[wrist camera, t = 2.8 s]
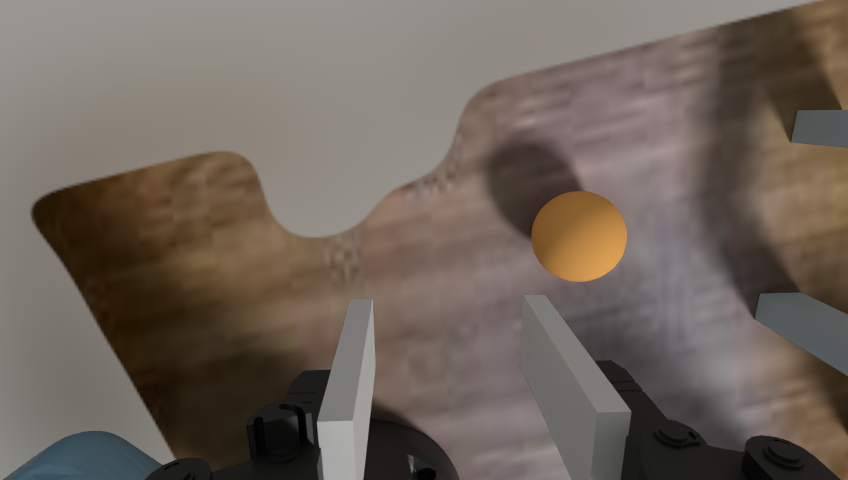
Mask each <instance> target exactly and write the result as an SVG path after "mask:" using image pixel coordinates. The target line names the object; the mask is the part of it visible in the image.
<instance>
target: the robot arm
mask: <svg viewBox="0 0 848 480" xmlns="http://www.w3.org/2000/svg"><path fill="white" fill-rule="evenodd" d="M520 365H521V367H522V370H523V372H524V374H525V376H526V379H527V381H528V383H529V385H530V388H531V390H532V392H533V394H534V397H535V399H536V401H537V403H538V405H539V408H540V410H541V412H542V414H543V417H544V419H545V421H546V423H547V426H548V428H549V430H550V432H551V435H552V437H553V439H554V441H555V443H556V446H557V448H558V450H559V452H560V455H561V457H562V459H563V461H564V464H565V466H566V468H567V470H568V472H569V475H570V477H571V479H572V480H840V479H839V478H838V477H837V476H836V475H835V474H834V473H833V472H831V471H830V470H829V469H828V468H827V467H826V466H825V465H824V464H822V463H821V462H820V461H819V460H818V459H817V458H816V457H815V456H813V455H812V454H810V453H809V452H808V451H806V450H805V449H803V448H802V447H800V446H798V445H796V444H793V443H791V442H790V441H787V440H784V439H780V438H777V437H771V436H762V435H760V436H755V437H751V438H750V439H749V440H748V441H746V445H745V450H744V453H743V452H738V451H732V450H727V449H722V448H716V447H712V446H708V445H707V444H706V442H705V441H704V439H703V438H702V437H701V436H700V434H699V433H697V432H696V431H694V430H693V429H692V428H690V427H688V426H686V425H684V424H682V423H679V422H677V421H672V420H668V419H666V417H665V416H664V415H663V414H662V413H661V411H660V410H659V409H658V408H657V407H656V405H655V404H654V403H653V402H652V401H651V399H650V398H649V397H648V396H647V395H646V393H645V392H643V391H642V389H641V387H640V386H639V385H638V384H637V383H635V380H634V379H633V378H632V377H631V376H630V374H629V373H628V372H627V371H626V370H625V369H624V368H622V367H620V366H619V365H617V364H616V363H614V362H613V361H611V360H608V361H594V360H593V359H592V358H591V356H590V355H589V354H588V352H587V351H586V349H585V348H584V347H583V345H582V344H581V343H580V341H579V340H578V339H577V337H576V336H575V335H574V333H573V332H572V331H571V329H570V328H569V327H568V325H567V324H566V323H565V321H564V320H563V319H562V317H561V316H560V314H559V313H558V312H557V310H556V309H555V308H554V306H553V305H552V304H551V302H550V301H549V300H548V298H547V297H546V296H545V295H524V297H523V315H522V333H521V352H520ZM374 377H375V345H374V322H373V299H351V300H350V304H349V307H348V311H347V315H346V318H345V322H344V326H343V329H342V333H341V336H340V340H339V344H338V347H337V351H336V355H335V358H334V362H333V365H332V369H331V370H309V371H303V372H302V373H301V374H300V375H299V376H298V377H297V378H296V379H295V380H293V382H292V384H291V387H290V389H289V392H288V395H287V397H286V399H285V401H278V402H275V403H272V404H268V405H266V406H264V407H262V408H261V409H259V410H257V411H256V412H255V413H254V414H253V415H252V416H251V417H250V418H249V421H248V423H247V433H248V440H249V448H250V455H251V459H250V460H248V461H246V462H244V463H242V464H239V465H236V466H233V467H230V468H226V469H222V470H218V471H215V472H212V471H211V468H210V466H209V464H208V463H207V462H206V461H204V460H202V459H200V458H184V459H178V460H174V461H172V462H170V463H167V464H165V465H162V464H160V463H159V462H157V461H156V460H154V459H153V458H151V457H150V456H148V455H147V454H145V453H144V452H142V451H141V450H139V449H138V448H136V447H135V446H133V445H132V444H130V443H129V442H127V441H126V440H124V439H123V438H121V437H119V436H117V435H115V434H112V433H109V432H103V431H88V432H81V433H78V434H73V435H71V436H68V437H65V438H63V439H61V440H59V441H57V442H55V443H54V444H52V445H51V446H49V447H48V448H46V449H45V450H43V451H42V452H40V453H39V454H38V455H36V456H34V457H33V458H32V459H30V460H29V461H27V462H26V463H25V464H23V465H22V466H21V467H19V468H18V469H17V470H15V471H14V472H13V473H11V474H10V475H8V476H7V477H6V478H4V479H3V480H459V476H458V474H457V471H456V469H455V467H454V465H453V464H452V462H451V461H450V459H449V458H448V456H447V455H446V454H445V453H444V452H443V451H442V449H441V448H439V447H438V446H437V445H436V444H435V443H434V442H433V441H431V440H430V439H428V438H427V437H425V436H424V435H422V434H420V433H418V432H416V431H414V430H412V429H410V428H407V427H405V426H402V425H399V424H395V423H391V422H386V421H378V420H370V413H371V404H372V395H373V386H374Z"/></svg>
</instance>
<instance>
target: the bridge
mask: <svg viewBox="0 0 848 480" xmlns="http://www.w3.org/2000/svg"><path fill="white" fill-rule="evenodd" d="M791 142H792V143H803V144H813V145H824V146H834V147H844V148H848V110H797V115H796V120H795V125H794V130H793V135H792V140H791ZM755 320H757V321H758V322H760V323H762V324H763V325H765V326H766V327H768V328H770V329H771V330H773V331H775V332H776V333H778V334H780V335H781V336H783V337H784V338H786V339H788V340H789V341H791V342H793V343H794V344H796V345H798V346H799V347H801V348H803V349H804V350H806V351H807V352H809V353H811V354H812V355H814V356H816V357H817V358H819V359H821V360H822V361H824V362H825V363H827V364H829V365H830V366H832V367H834V368H835V369H837V370H839V371H840V372H842V373H843V374H845V375H847V376H848V314H846V313H844V312H841V311H839V310H837V309H835V308H833V307H831V306H829V305H827V304H824V303H822V302H820V301H818V300H816V299H814V298H812V297H810V296H807V295H805V294H803V293H801V292H800V293H760V296H759V301H758V305H757V310H756V315H755Z"/></svg>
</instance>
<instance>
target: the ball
mask: <svg viewBox="0 0 848 480" xmlns="http://www.w3.org/2000/svg"><path fill="white" fill-rule="evenodd" d="M531 239H532V246H533V249H534V252H535V255H536V257H537V258H538V260H539V262H540V263H541V264H542V265H543V267H544V268H546V269H547V270H548V271H549V272H550V273H552V274H553V275H555V276H557V277H559V278H561V279H564V280H568V281H575V282H583V281H590V280H594V279H597V278H599V277H601V276H603V275H605V274H606V273H608V272H609V271H610V270H612V269H613V268H614V267H615V266H616V265H617V263H618V262H619V261H620V259H621V257H622V255H623V253H624V250H625V247H626V242H627V231H626V226H625V222H624V220H623V217H622V215H621V214H620V212H619V211H618V210H617V208H616V207H615V206H614V205H613V204H612V203H611V202H610V201H608V200H607V199H605V198H604V197H602V196H600V195H597V194H594V193H591V192H586V191H574V192H568V193H564V194H561V195H559V196H557V197H555V198H553V199H552V200H550V201H549V202H548V203H547V204H545V205H544V206H543V208H542V209H541V210H540V211H539V213H538V215H537V216H536V218H535V221H534V223H533V227H532V234H531Z"/></svg>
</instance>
